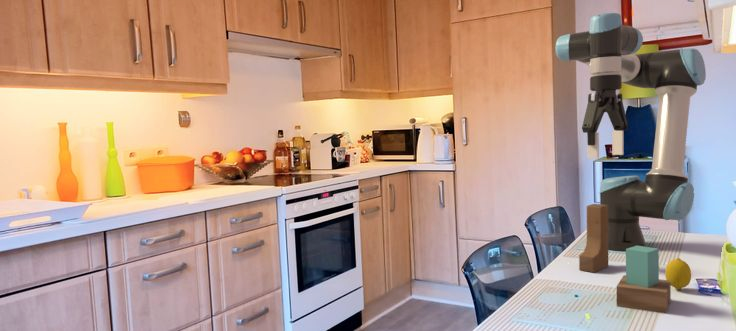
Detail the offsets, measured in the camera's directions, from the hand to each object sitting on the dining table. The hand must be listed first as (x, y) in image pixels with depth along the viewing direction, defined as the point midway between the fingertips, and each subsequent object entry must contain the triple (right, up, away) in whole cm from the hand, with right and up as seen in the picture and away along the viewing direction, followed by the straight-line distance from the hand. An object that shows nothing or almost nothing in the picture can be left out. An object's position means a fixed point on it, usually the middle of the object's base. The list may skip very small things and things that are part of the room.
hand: (605, 156), depth 143 cm
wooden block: (+2, -32, +12) cm, 34 cm away
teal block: (+1, -30, -18) cm, 34 cm away
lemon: (+14, -33, -9) cm, 37 cm away
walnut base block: (+1, -35, -17) cm, 39 cm away
